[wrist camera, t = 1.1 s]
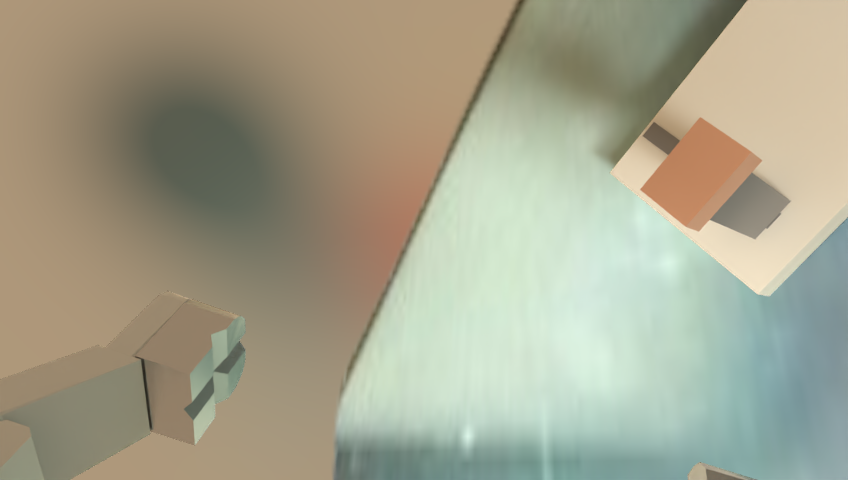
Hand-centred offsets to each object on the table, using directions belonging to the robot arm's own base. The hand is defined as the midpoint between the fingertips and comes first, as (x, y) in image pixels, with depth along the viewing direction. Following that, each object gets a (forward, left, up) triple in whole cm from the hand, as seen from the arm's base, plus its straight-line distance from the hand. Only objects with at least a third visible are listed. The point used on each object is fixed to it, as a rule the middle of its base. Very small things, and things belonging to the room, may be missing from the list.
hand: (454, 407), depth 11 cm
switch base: (-5, -15, -37) cm, 41 cm away
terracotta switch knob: (0, -9, -34) cm, 35 cm away
